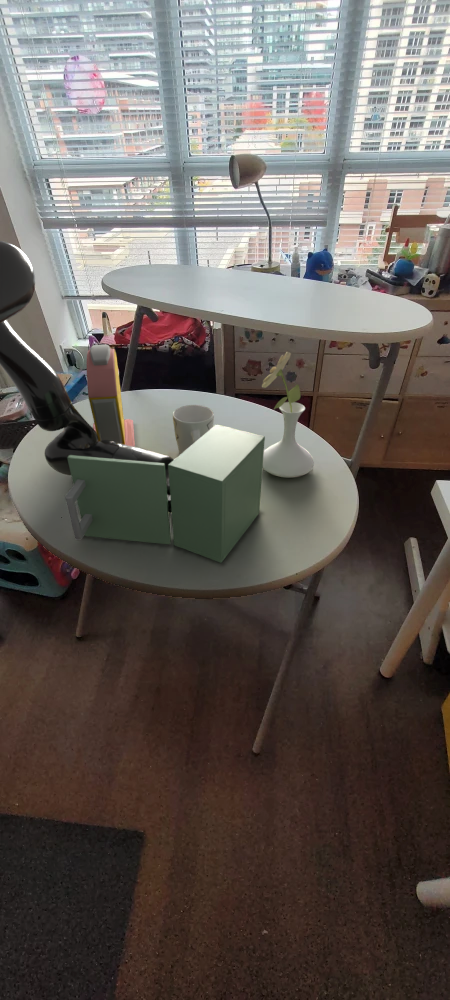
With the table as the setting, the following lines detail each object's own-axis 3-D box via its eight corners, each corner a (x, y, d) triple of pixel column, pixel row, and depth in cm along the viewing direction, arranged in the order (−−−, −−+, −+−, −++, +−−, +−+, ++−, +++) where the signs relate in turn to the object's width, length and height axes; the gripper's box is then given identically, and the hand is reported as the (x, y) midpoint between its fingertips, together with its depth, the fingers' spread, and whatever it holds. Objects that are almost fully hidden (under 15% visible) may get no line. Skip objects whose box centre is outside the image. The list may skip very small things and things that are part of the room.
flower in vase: (284, 448, 102) (296, 335, 87) (324, 469, 95) (343, 350, 80) (241, 468, 95) (246, 348, 81) (280, 492, 88) (293, 366, 74)
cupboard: (173, 545, 76) (167, 464, 67) (216, 499, 87) (216, 424, 77) (221, 563, 73) (222, 481, 63) (259, 513, 83) (265, 436, 74)
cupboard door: (162, 566, 72) (154, 485, 62) (72, 556, 73) (52, 476, 64) (171, 541, 76) (164, 462, 67) (86, 533, 78) (69, 454, 69)
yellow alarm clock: (94, 422, 111) (79, 332, 98) (133, 419, 113) (122, 330, 100) (91, 470, 94) (71, 368, 81) (136, 466, 95) (124, 366, 83)
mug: (218, 471, 94) (218, 428, 88) (177, 474, 93) (175, 431, 87) (211, 444, 103) (210, 403, 97) (173, 447, 102) (171, 405, 96)
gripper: (114, 472, 74) (203, 501, 67) (164, 434, 84) (245, 457, 78) (120, 508, 78) (204, 539, 72) (166, 469, 88) (244, 493, 82)
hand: (225, 496), depth 75 cm, fingers open, 6 cm apart
